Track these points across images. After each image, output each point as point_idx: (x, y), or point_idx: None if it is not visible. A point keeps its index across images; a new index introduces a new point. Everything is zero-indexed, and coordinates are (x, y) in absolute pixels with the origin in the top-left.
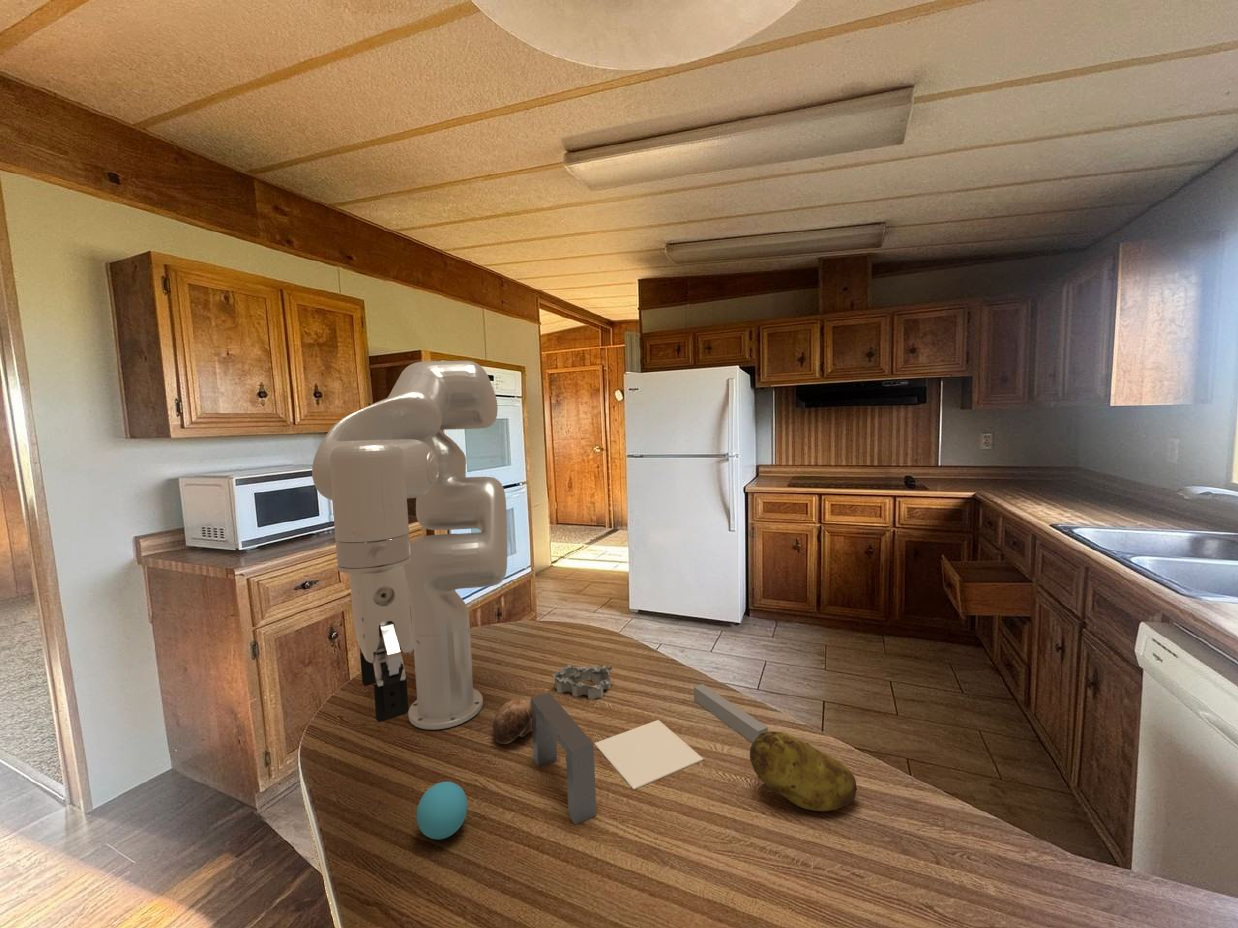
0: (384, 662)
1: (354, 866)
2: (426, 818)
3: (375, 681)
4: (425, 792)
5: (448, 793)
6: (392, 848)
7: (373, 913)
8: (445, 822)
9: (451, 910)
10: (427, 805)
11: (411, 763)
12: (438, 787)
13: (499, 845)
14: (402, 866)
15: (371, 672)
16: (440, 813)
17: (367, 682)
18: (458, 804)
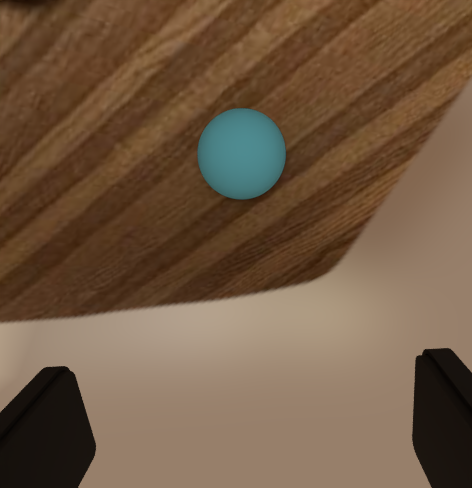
0: (22, 456)
1: (244, 273)
2: (269, 187)
3: (85, 422)
4: (221, 184)
5: (257, 145)
6: (237, 227)
7: (336, 256)
8: (285, 156)
9: (394, 166)
10: (257, 185)
11: (43, 180)
12: (237, 162)
13: (320, 71)
14: (279, 217)
15: (63, 474)
16: (279, 165)
17: (90, 451)
18: (273, 129)
